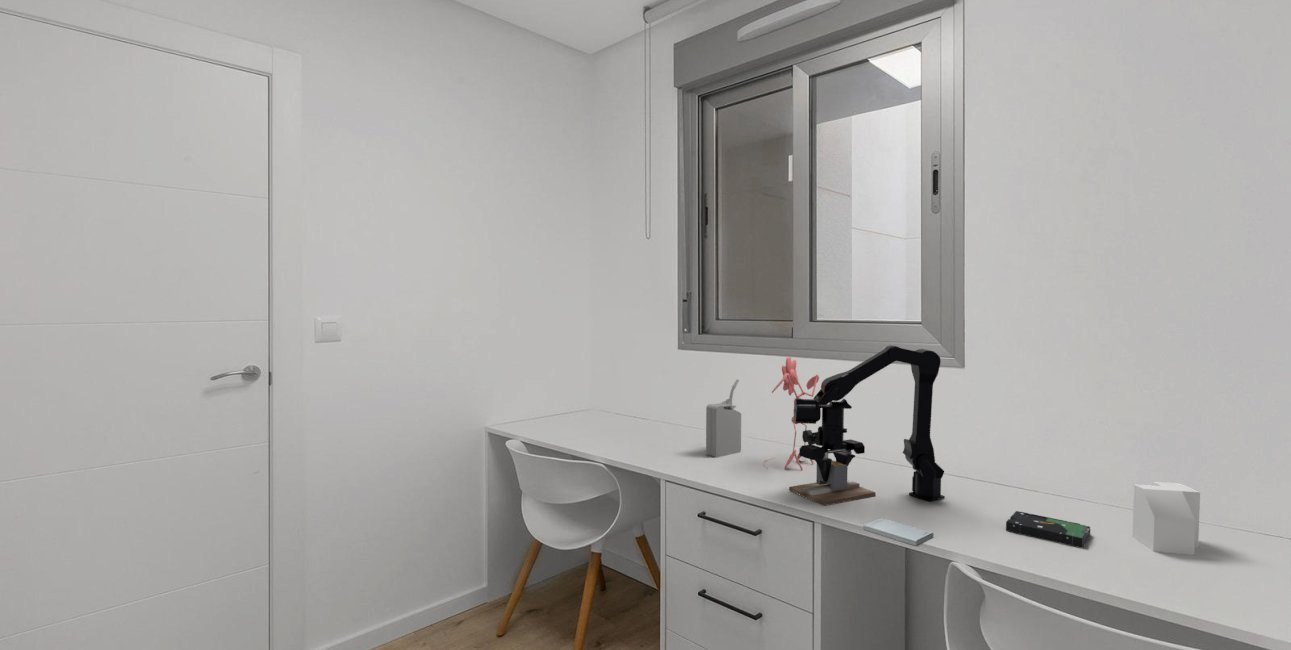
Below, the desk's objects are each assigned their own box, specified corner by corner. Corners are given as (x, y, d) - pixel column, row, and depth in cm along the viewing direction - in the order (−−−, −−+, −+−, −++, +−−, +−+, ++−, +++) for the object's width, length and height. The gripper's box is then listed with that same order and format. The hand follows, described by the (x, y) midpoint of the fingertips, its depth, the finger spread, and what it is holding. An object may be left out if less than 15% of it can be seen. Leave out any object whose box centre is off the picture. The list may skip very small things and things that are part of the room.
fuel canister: (735, 448, 219) (735, 378, 218) (745, 450, 216) (746, 380, 215) (705, 454, 209) (705, 382, 209) (716, 457, 206) (716, 383, 205)
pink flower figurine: (825, 459, 204) (824, 354, 203) (794, 476, 183) (793, 360, 182) (782, 453, 213) (781, 353, 212) (748, 469, 192) (746, 358, 191)
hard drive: (933, 532, 137) (881, 516, 146) (915, 541, 131) (863, 524, 141) (933, 539, 137) (881, 523, 146) (915, 548, 131) (863, 531, 141)
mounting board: (875, 495, 165) (875, 488, 165) (824, 505, 157) (824, 497, 157) (838, 482, 178) (838, 475, 178) (789, 490, 170) (789, 483, 170)
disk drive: (1005, 533, 140) (1084, 550, 130) (1005, 521, 140) (1084, 537, 130) (1015, 521, 148) (1090, 536, 138) (1015, 510, 148) (1090, 524, 138)
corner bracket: (1178, 536, 138) (1180, 483, 137) (1212, 556, 126) (1215, 499, 126) (1124, 531, 140) (1125, 480, 140) (1153, 551, 129) (1155, 495, 128)
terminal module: (847, 488, 166) (847, 464, 165) (834, 490, 164) (834, 466, 163) (828, 481, 172) (829, 458, 172) (816, 483, 170) (816, 460, 170)
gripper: (837, 416, 178) (836, 469, 179) (786, 421, 170) (785, 477, 171) (866, 423, 168) (865, 479, 169) (814, 429, 160) (813, 488, 161)
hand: (831, 480), depth 168 cm, fingers closed on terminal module, 4 cm apart
